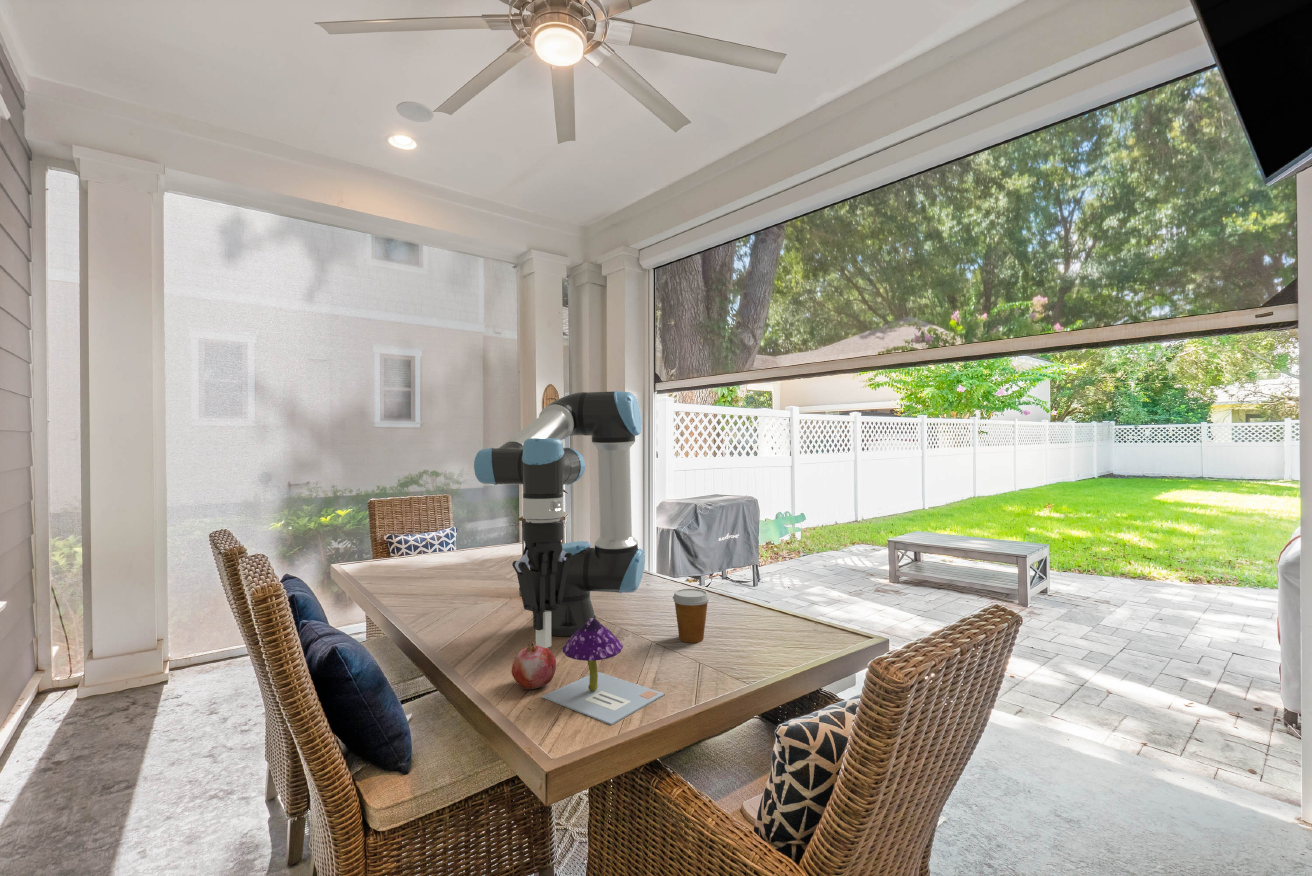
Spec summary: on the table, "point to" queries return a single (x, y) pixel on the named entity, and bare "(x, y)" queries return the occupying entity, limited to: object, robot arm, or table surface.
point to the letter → (604, 698)
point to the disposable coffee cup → (691, 613)
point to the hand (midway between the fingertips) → (543, 645)
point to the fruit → (534, 667)
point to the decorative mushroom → (592, 647)
